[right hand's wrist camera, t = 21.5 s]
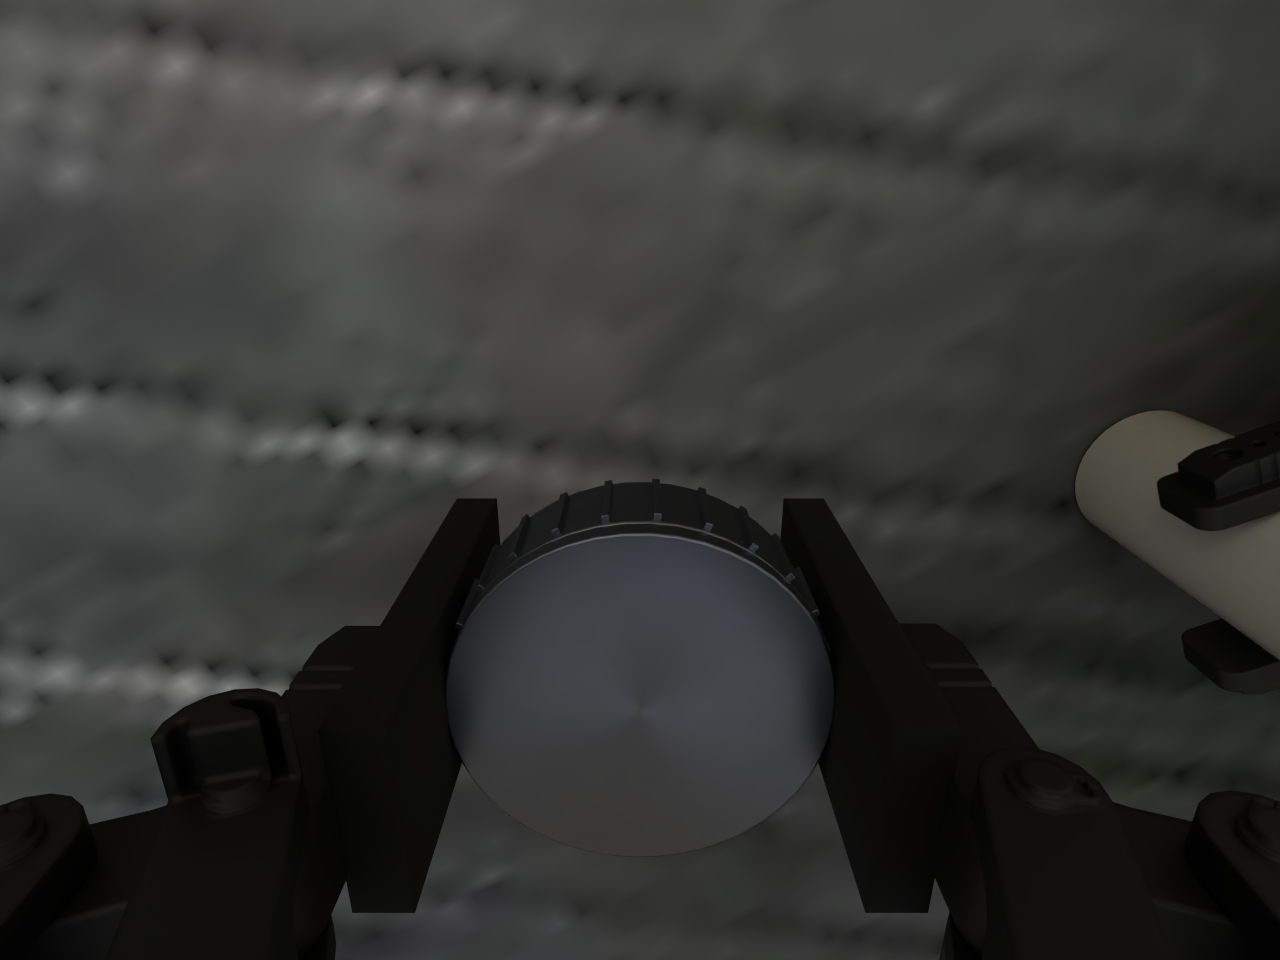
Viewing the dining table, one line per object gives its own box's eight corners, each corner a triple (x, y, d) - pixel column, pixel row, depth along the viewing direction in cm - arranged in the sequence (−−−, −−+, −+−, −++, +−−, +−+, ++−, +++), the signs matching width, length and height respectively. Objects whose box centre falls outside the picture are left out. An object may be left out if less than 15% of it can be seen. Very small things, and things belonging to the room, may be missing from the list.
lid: (601, 821, 14) (595, 914, 12) (394, 598, 12) (351, 668, 10) (874, 673, 12) (913, 752, 11) (688, 404, 11) (697, 445, 9)
